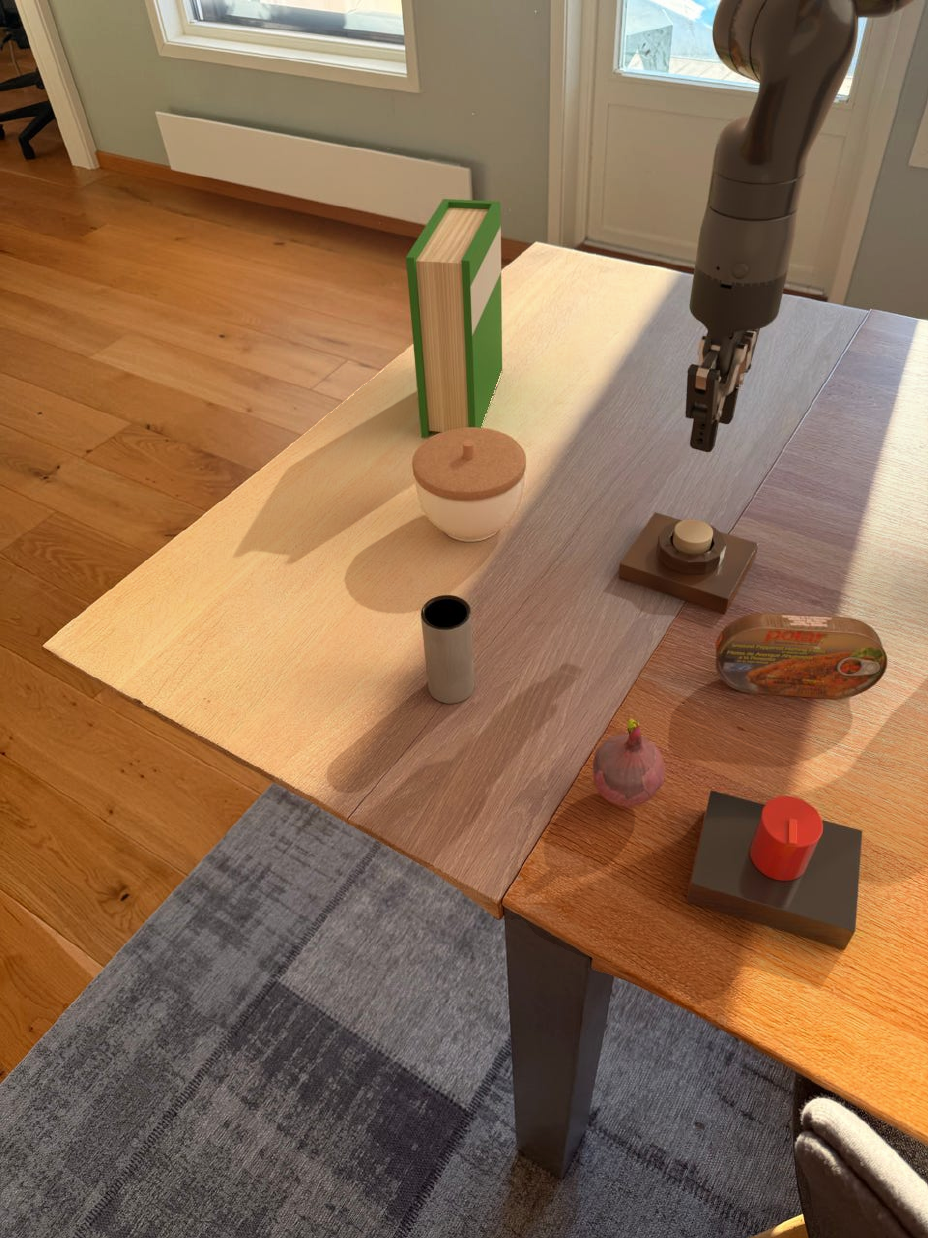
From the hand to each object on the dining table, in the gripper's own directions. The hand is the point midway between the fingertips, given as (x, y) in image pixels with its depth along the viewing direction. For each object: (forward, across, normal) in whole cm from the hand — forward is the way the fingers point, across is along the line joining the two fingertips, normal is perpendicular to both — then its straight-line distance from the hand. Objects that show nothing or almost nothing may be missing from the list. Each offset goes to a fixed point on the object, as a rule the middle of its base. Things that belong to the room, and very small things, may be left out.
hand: (711, 433), depth 87 cm
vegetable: (+18, +31, +6) cm, 36 cm away
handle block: (+17, +32, +19) cm, 41 cm away
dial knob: (+14, +32, +19) cm, 40 cm away
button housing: (+17, 0, 0) cm, 17 cm away
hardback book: (+18, -18, -39) cm, 46 cm away
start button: (+14, 0, 0) cm, 14 cm away
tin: (+18, +11, +14) cm, 25 cm away
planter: (+18, +27, -14) cm, 35 cm away
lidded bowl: (+18, +4, -25) cm, 31 cm away
